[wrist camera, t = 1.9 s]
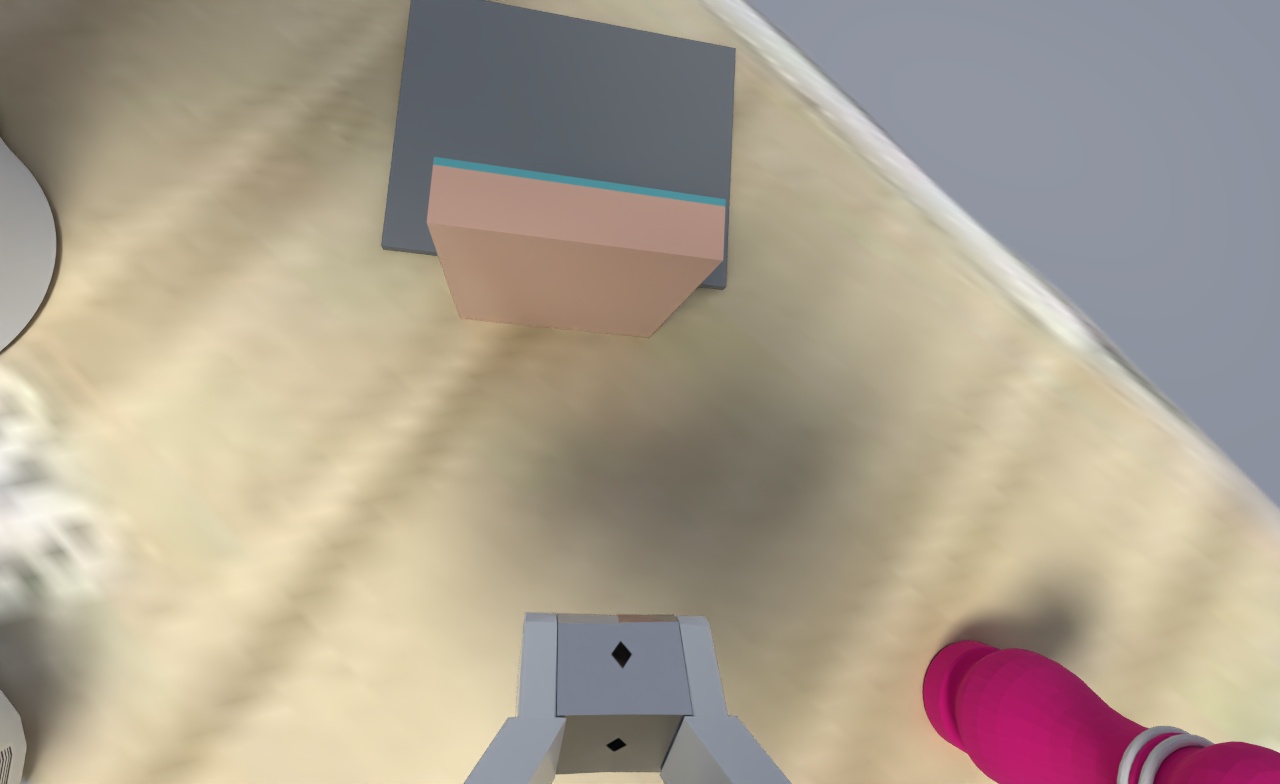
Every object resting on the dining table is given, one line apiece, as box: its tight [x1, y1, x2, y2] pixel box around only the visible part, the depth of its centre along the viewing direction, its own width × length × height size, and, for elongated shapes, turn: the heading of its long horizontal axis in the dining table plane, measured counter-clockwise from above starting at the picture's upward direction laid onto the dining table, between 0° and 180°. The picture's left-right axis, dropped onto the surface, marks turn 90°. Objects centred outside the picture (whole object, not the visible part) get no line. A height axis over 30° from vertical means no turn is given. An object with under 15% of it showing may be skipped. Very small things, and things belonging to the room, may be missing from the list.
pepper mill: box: [923, 640, 1280, 784], centre depth 29 cm, size 7×7×20 cm
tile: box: [427, 157, 726, 338], centre depth 31 cm, size 2×11×14 cm, turn 86°
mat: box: [381, 0, 736, 290], centre depth 38 cm, size 16×20×1 cm
